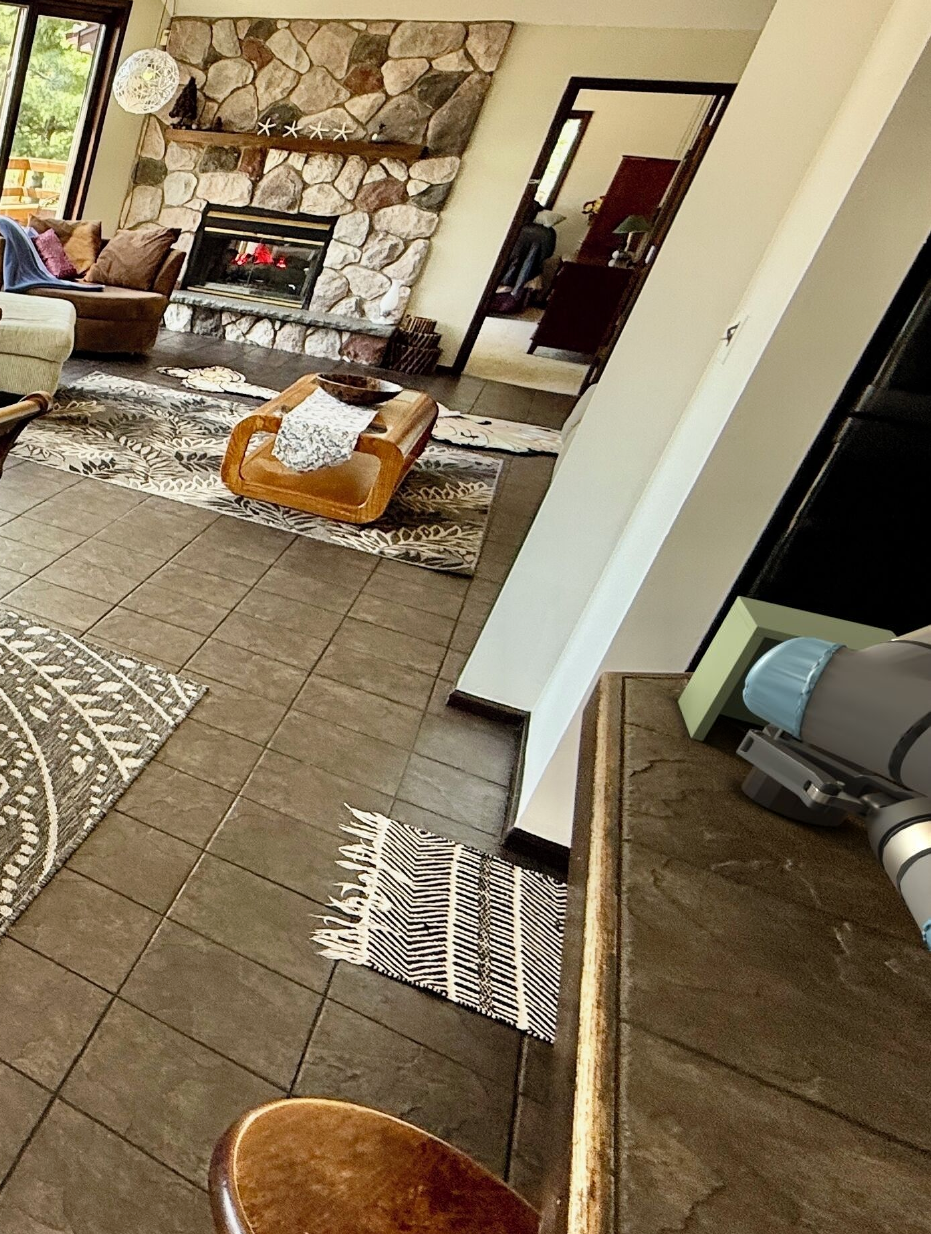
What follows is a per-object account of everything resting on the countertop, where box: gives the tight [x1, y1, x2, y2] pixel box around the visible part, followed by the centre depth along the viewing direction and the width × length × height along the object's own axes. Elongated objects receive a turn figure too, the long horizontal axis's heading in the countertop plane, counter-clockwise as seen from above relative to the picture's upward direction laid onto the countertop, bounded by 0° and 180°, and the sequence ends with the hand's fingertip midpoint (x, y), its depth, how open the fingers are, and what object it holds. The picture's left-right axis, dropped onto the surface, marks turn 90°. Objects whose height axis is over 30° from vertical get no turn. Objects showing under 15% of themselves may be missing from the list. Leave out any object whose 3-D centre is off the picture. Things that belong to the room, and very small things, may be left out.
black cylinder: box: [740, 741, 877, 827], centre depth 102 cm, size 7×7×10 cm
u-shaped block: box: [677, 595, 898, 742], centre depth 114 cm, size 13×12×15 cm
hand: (878, 752), depth 92 cm, fingers open, 13 cm apart
